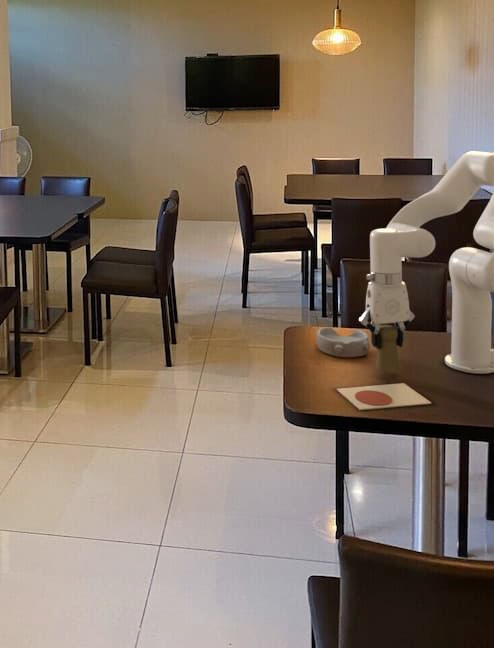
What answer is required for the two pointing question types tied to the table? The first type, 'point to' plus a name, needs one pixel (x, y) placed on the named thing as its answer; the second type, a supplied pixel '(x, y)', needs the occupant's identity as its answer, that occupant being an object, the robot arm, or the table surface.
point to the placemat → (383, 396)
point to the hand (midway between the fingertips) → (387, 345)
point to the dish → (342, 343)
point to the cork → (388, 350)
